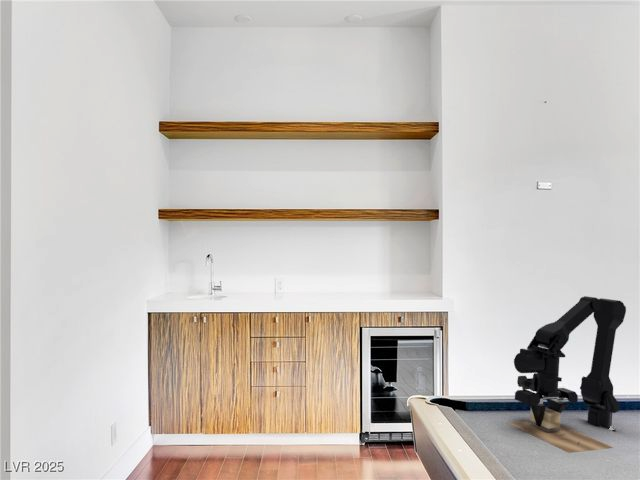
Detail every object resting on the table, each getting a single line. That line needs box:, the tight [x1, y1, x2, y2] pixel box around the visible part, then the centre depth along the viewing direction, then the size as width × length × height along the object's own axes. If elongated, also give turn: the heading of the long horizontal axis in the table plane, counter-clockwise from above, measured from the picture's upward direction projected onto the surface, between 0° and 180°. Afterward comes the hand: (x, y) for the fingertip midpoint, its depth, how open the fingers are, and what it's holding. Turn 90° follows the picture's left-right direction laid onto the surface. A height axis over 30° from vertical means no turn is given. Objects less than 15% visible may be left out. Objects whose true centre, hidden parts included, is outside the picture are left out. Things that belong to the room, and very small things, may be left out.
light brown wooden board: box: [508, 420, 614, 454], centre depth 143 cm, size 16×22×1 cm
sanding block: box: [529, 407, 562, 432], centre depth 147 cm, size 4×7×5 cm, turn 21°
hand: (544, 425), depth 147 cm, fingers closed on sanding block, 4 cm apart
